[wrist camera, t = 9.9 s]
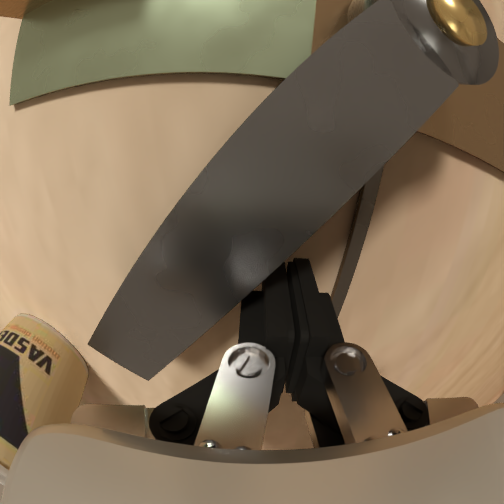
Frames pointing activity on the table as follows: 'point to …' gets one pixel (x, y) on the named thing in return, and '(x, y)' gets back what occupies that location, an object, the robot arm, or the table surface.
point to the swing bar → (294, 169)
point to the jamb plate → (437, 126)
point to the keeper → (153, 40)
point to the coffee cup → (35, 382)
